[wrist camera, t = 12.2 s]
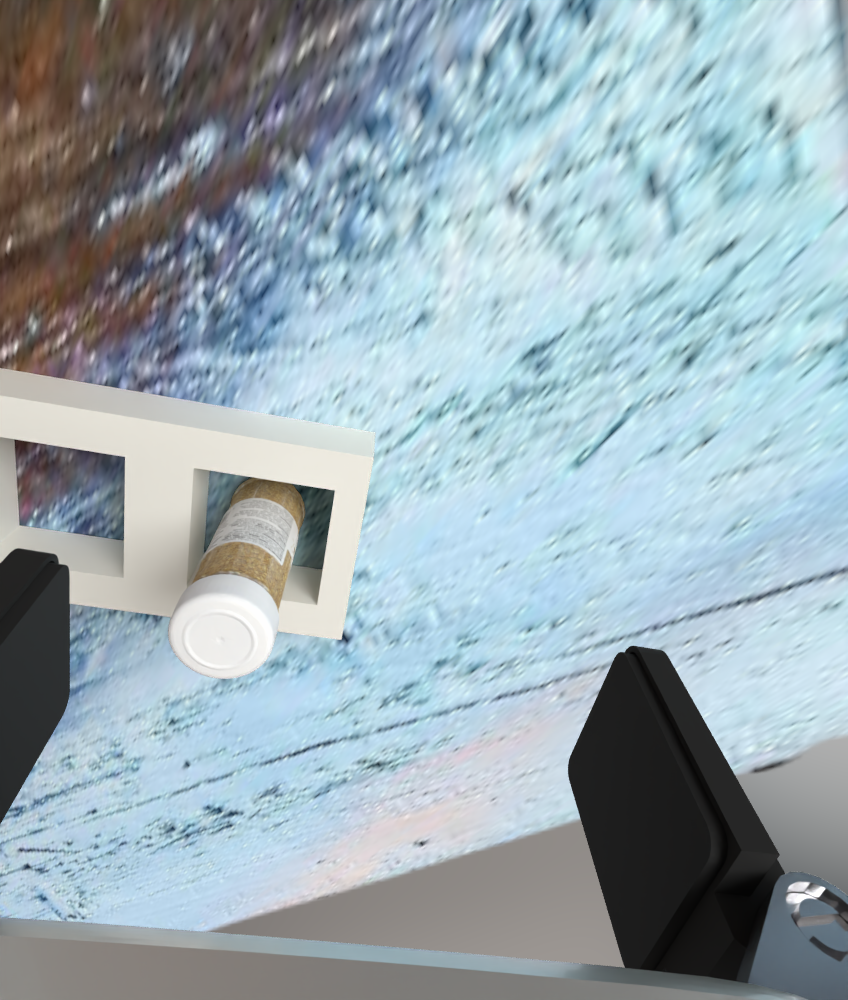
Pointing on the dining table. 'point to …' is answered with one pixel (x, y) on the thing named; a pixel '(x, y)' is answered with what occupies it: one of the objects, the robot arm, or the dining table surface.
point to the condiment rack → (181, 491)
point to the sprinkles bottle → (240, 583)
